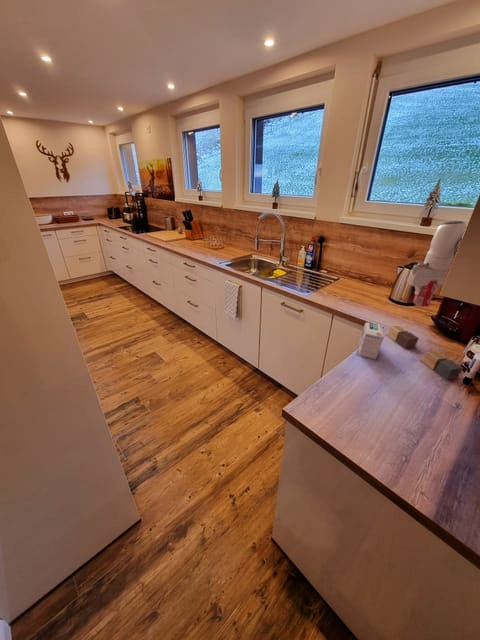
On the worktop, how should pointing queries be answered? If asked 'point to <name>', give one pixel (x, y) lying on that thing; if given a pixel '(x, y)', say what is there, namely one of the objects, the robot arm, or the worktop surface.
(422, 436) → the worktop surface
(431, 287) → the beverage can
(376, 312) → the worktop surface
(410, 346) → the block row
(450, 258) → the robot arm
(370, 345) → the light bulb box
